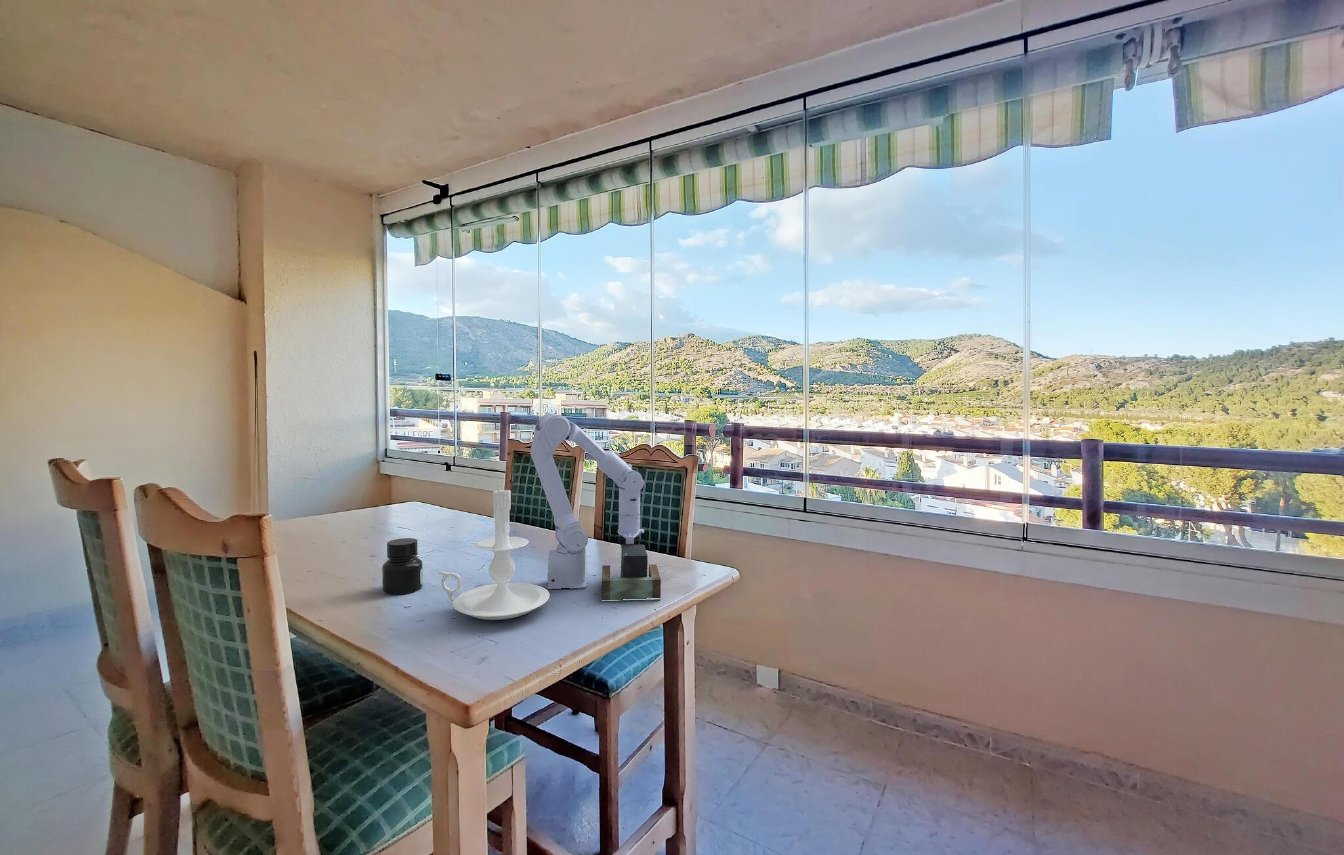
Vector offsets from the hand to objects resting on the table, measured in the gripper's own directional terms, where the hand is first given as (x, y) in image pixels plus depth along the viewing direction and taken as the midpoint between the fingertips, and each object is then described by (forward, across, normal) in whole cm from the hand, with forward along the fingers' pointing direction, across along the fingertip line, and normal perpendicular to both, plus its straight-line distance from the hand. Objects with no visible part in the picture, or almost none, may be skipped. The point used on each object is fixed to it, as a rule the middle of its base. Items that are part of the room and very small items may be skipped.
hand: (628, 563), depth 149 cm
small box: (+4, -11, -1) cm, 12 cm away
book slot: (+3, -12, 0) cm, 13 cm away
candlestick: (+4, -23, +31) cm, 38 cm away
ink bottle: (+4, -7, +56) cm, 57 cm away
